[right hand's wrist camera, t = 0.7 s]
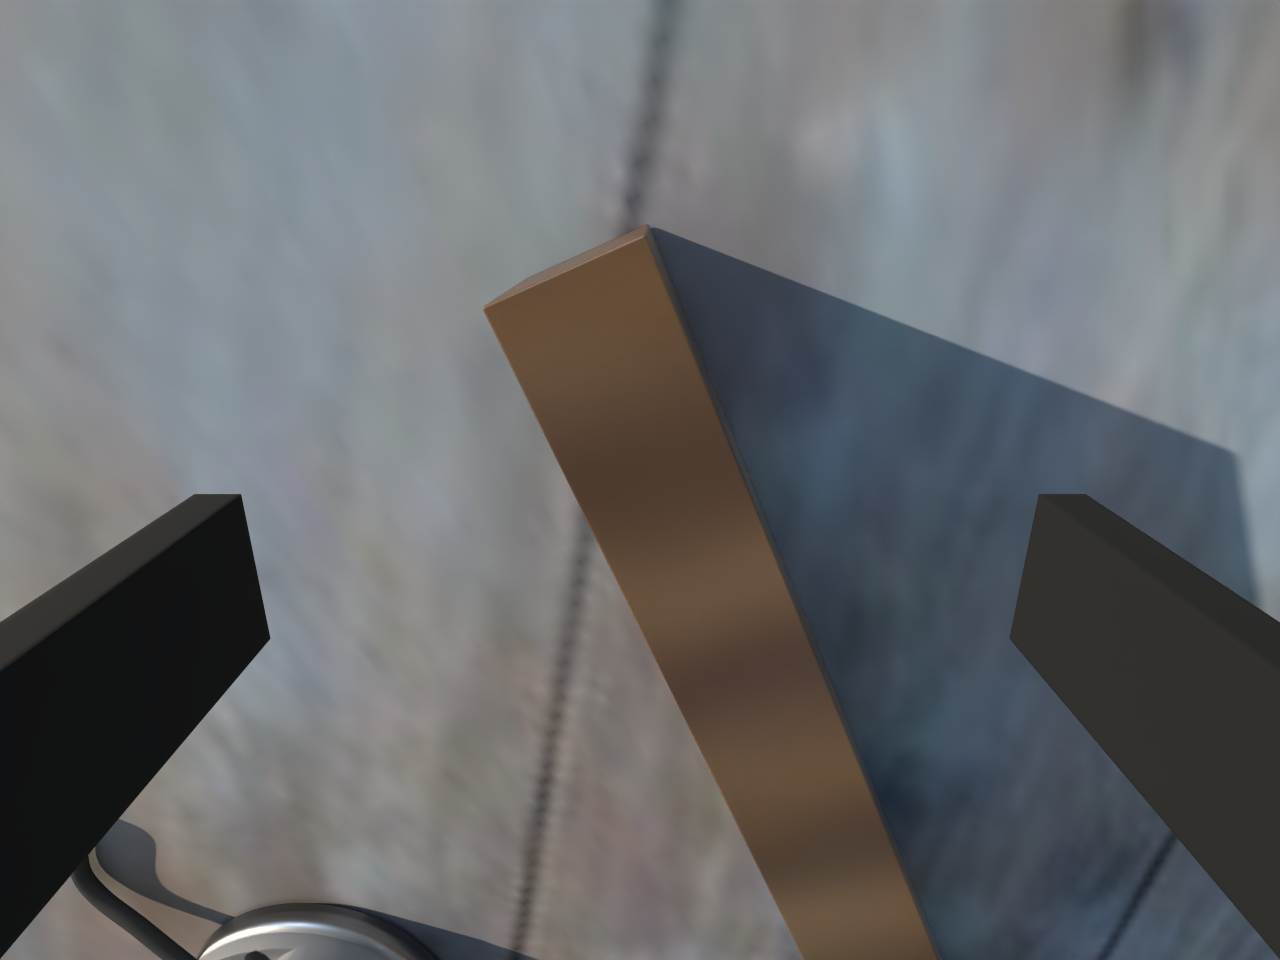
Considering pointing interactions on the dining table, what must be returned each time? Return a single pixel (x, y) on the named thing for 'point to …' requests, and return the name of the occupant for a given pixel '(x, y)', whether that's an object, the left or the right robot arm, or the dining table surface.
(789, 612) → the bar
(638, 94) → the dining table surface
